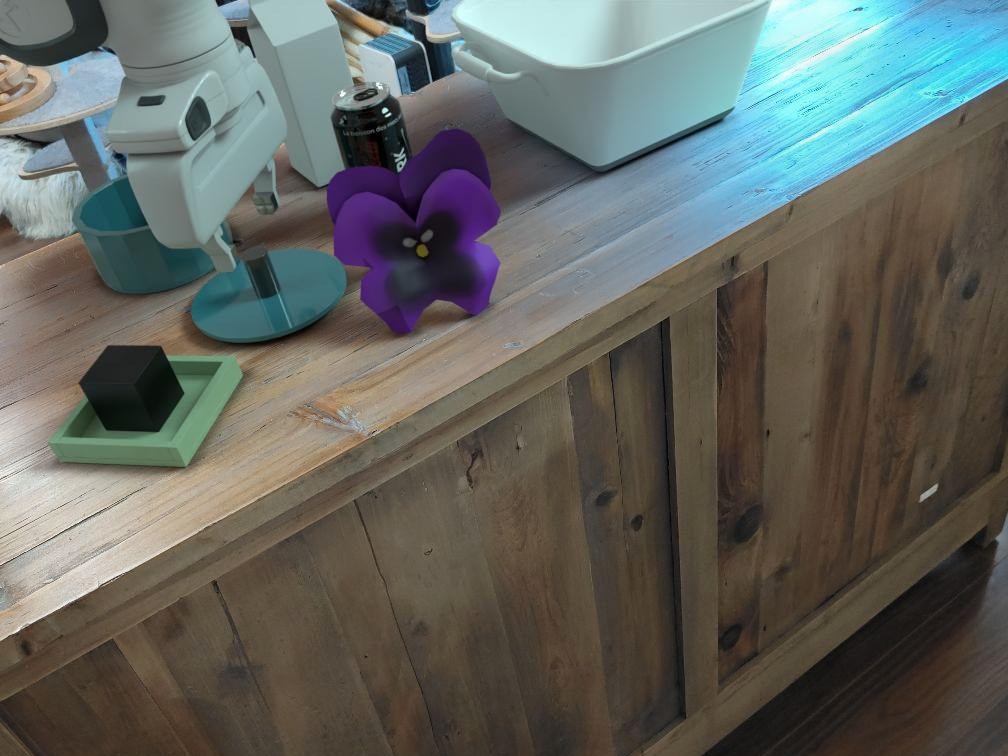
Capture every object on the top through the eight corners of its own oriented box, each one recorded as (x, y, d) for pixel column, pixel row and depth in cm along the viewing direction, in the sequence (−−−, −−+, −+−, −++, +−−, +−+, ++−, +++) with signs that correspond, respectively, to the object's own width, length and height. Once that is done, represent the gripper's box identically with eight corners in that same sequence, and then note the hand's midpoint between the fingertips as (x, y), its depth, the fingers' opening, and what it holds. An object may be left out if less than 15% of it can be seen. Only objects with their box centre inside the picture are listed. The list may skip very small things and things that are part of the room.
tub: (559, 225, 97) (541, 92, 88) (427, 139, 114) (401, 20, 105) (821, 103, 107) (830, -28, 98) (665, 41, 124) (660, -76, 115)
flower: (361, 334, 98) (361, 348, 85) (312, 175, 93) (305, 164, 80) (504, 296, 99) (526, 303, 86) (464, 137, 94) (481, 120, 82)
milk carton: (375, 165, 111) (326, -21, 98) (318, 189, 109) (260, 2, 95) (347, 145, 116) (296, -36, 102) (292, 168, 114) (232, -13, 100)
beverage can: (435, 210, 102) (408, 92, 94) (376, 236, 100) (343, 118, 92) (405, 187, 107) (377, 72, 98) (348, 211, 105) (314, 96, 96)
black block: (105, 430, 83) (77, 382, 80) (133, 392, 86) (107, 344, 83) (159, 432, 82) (133, 383, 78) (185, 393, 85) (161, 345, 82)
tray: (59, 462, 82) (47, 442, 81) (125, 373, 90) (115, 354, 88) (186, 467, 79) (176, 447, 78) (243, 375, 87) (235, 355, 85)
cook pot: (77, 294, 101) (46, 236, 96) (139, 222, 109) (113, 166, 105) (199, 294, 97) (173, 234, 93) (253, 220, 106) (231, 162, 102)
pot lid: (168, 347, 92) (145, 299, 88) (232, 259, 101) (214, 212, 98) (317, 349, 88) (300, 299, 85) (369, 257, 98) (355, 209, 94)
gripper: (208, 32, 87) (262, 181, 97) (94, 144, 74) (170, 303, 84) (274, 27, 86) (322, 179, 96) (169, 140, 73) (238, 303, 83)
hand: (250, 238), depth 90 cm, fingers open, 8 cm apart
